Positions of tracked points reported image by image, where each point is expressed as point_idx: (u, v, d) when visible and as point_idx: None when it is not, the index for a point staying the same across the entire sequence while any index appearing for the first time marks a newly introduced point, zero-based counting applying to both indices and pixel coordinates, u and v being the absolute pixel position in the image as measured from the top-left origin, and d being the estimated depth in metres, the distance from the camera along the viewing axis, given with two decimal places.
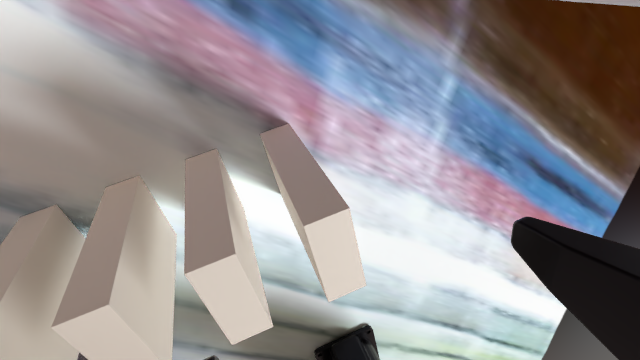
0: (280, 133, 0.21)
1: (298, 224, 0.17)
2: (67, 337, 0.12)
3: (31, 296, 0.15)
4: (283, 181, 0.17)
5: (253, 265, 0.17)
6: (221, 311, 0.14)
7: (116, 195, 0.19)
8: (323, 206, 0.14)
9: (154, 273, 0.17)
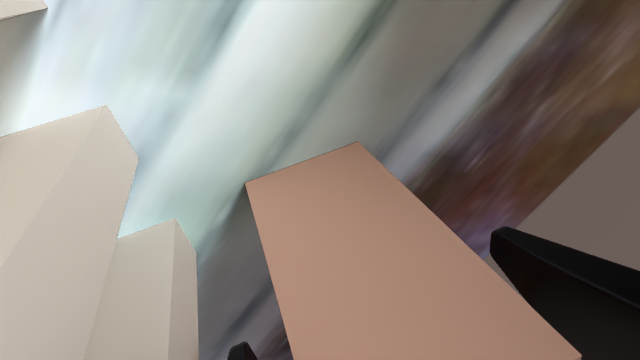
0: None
1: None
2: None
3: None
4: None
5: None
6: None
7: None
8: None
9: None
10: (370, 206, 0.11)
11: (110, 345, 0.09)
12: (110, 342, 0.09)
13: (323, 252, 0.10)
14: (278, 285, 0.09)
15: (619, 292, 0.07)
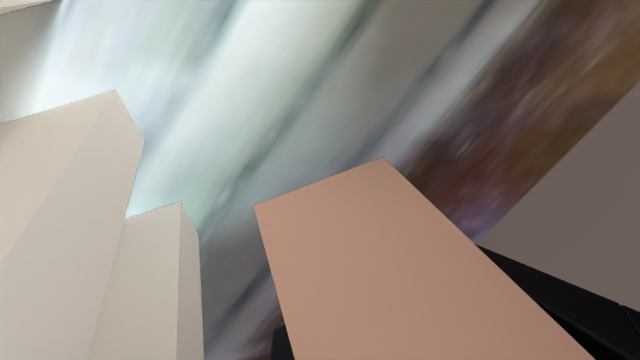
0: None
1: None
2: None
3: None
4: None
5: None
6: None
7: None
8: None
9: None
10: (406, 242, 0.09)
11: (122, 317, 0.10)
12: (121, 314, 0.10)
13: (353, 306, 0.08)
14: (299, 351, 0.07)
15: (572, 316, 0.07)
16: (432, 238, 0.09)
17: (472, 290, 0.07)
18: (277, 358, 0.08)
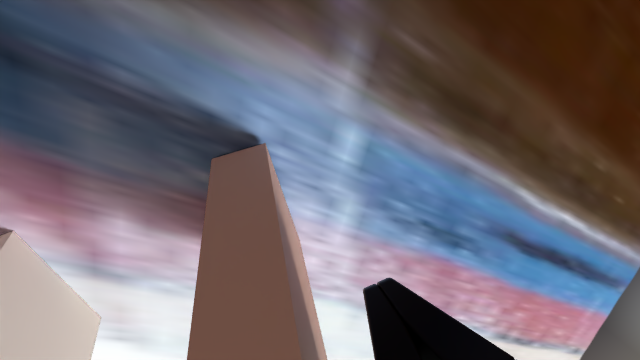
0: None
1: None
2: None
3: None
4: None
5: None
6: None
7: None
8: None
9: None
10: (308, 294, 0.11)
11: None
12: None
13: (298, 280, 0.09)
14: (285, 256, 0.08)
15: None
16: (314, 311, 0.11)
17: (324, 359, 0.10)
18: (376, 313, 0.08)
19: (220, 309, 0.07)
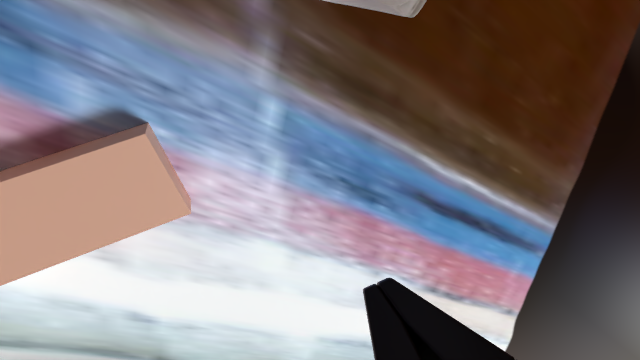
0: None
1: None
2: None
3: None
4: None
5: None
6: None
7: None
8: None
9: None
10: (100, 222, 0.17)
11: None
12: None
13: (52, 200, 0.16)
14: (19, 178, 0.15)
15: None
16: (103, 233, 0.18)
17: (67, 244, 0.17)
18: (375, 313, 0.08)
19: (6, 169, 0.16)
